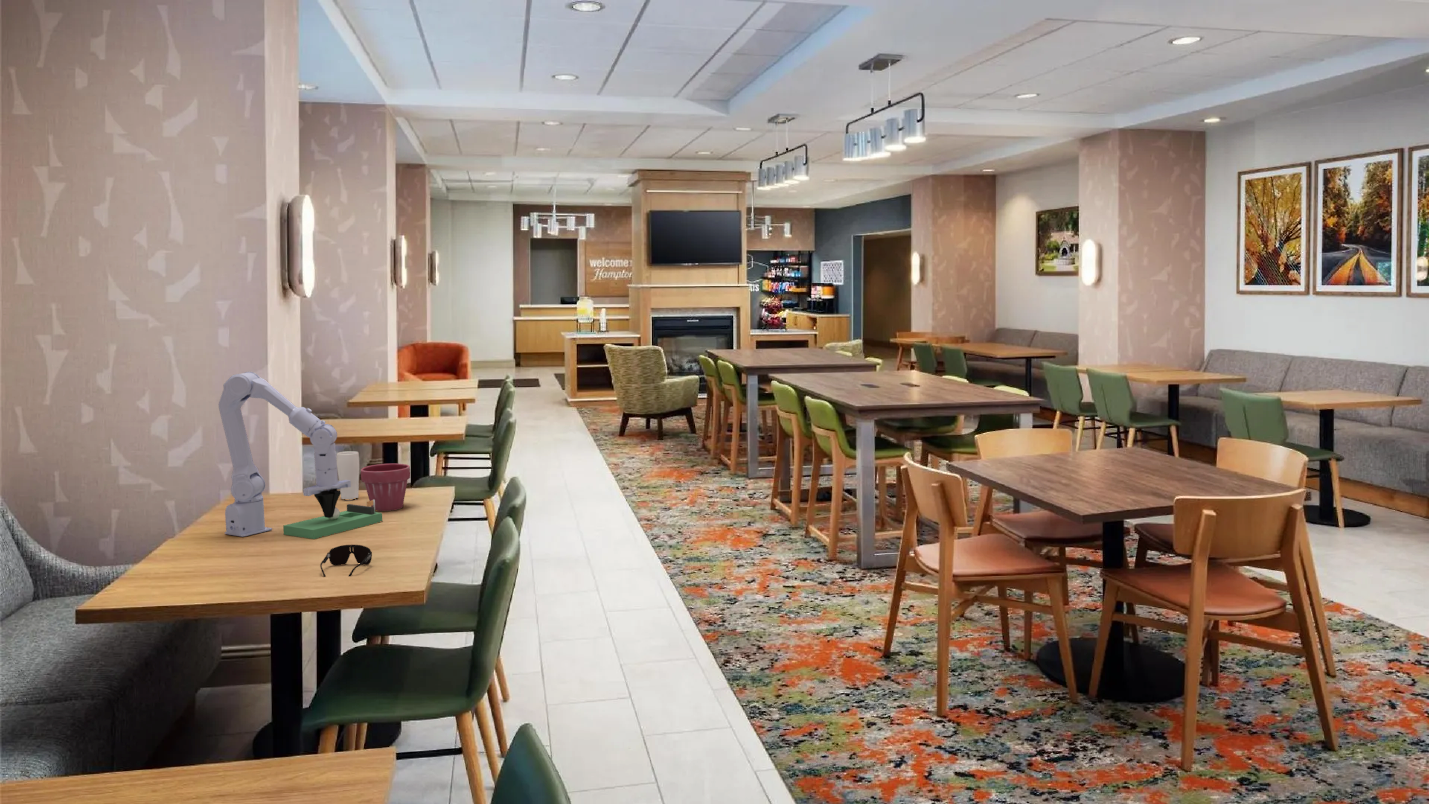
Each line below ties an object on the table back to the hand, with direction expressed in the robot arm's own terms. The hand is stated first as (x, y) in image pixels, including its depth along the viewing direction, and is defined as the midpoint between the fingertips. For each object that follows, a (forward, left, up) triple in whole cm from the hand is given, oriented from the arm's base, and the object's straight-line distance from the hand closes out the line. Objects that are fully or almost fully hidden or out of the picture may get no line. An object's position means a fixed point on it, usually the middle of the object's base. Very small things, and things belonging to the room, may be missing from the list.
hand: (329, 517), depth 288 cm
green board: (+2, 0, -4) cm, 4 cm away
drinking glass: (+33, +29, -4) cm, 44 cm away
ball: (+1, 0, +1) cm, 2 cm away
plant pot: (+28, +7, -4) cm, 29 cm away
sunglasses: (-28, -38, -4) cm, 48 cm away
